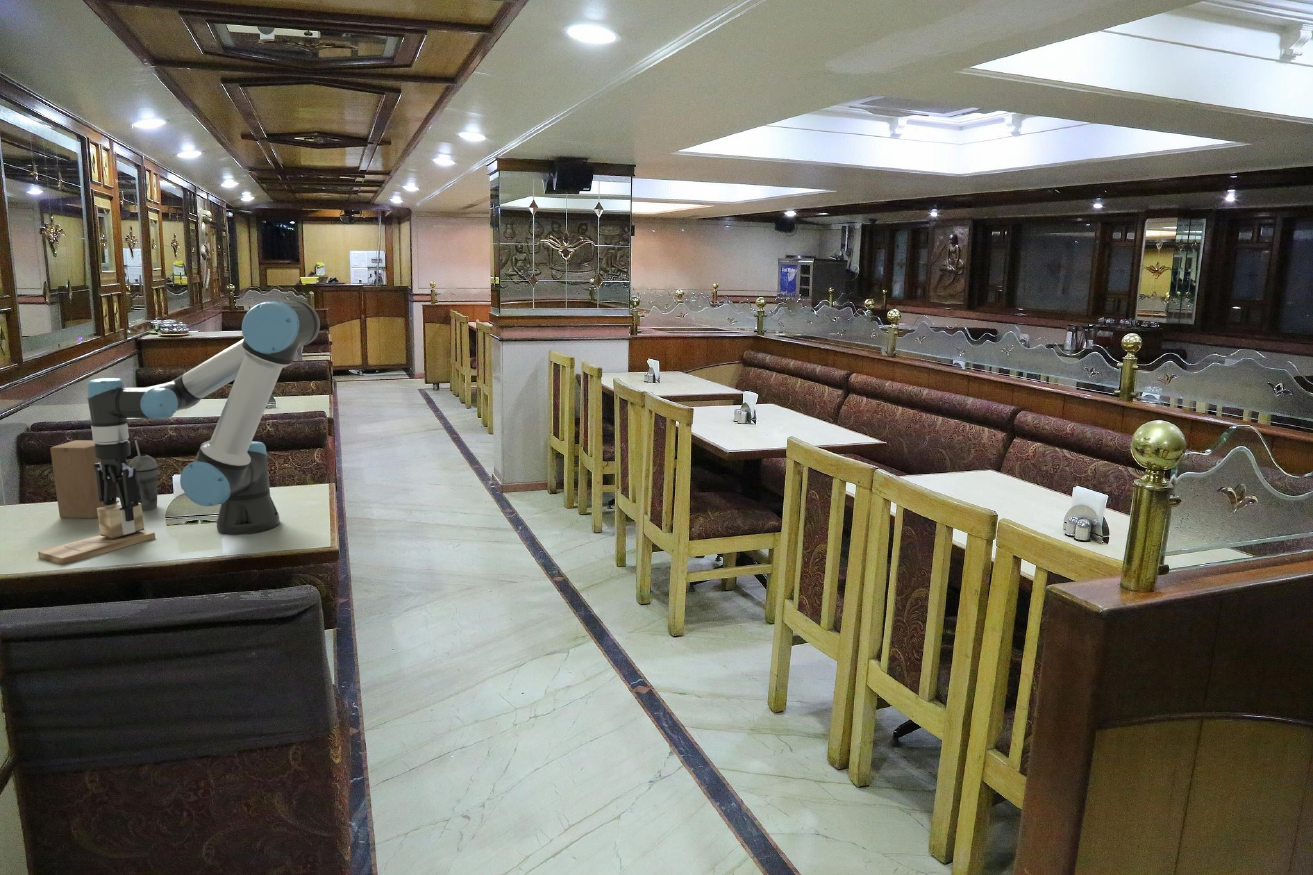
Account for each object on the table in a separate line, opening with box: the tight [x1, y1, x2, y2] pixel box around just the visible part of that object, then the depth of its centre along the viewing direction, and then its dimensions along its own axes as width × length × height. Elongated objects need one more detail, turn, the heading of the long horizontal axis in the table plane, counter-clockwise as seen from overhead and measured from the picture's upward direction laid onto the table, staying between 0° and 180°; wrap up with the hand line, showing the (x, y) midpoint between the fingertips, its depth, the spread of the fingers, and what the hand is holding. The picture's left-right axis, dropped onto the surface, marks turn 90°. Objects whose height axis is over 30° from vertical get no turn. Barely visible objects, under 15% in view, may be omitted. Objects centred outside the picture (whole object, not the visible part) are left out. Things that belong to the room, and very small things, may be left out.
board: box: [37, 529, 156, 565], centre depth 206 cm, size 10×22×2 cm, turn 153°
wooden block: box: [49, 439, 118, 519], centre depth 232 cm, size 10×10×20 cm
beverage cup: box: [128, 440, 159, 511], centre depth 238 cm, size 7×7×20 cm
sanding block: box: [97, 502, 145, 538], centre depth 211 cm, size 5×8×7 cm, turn 152°
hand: (122, 531), depth 211 cm, fingers closed on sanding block, 5 cm apart
